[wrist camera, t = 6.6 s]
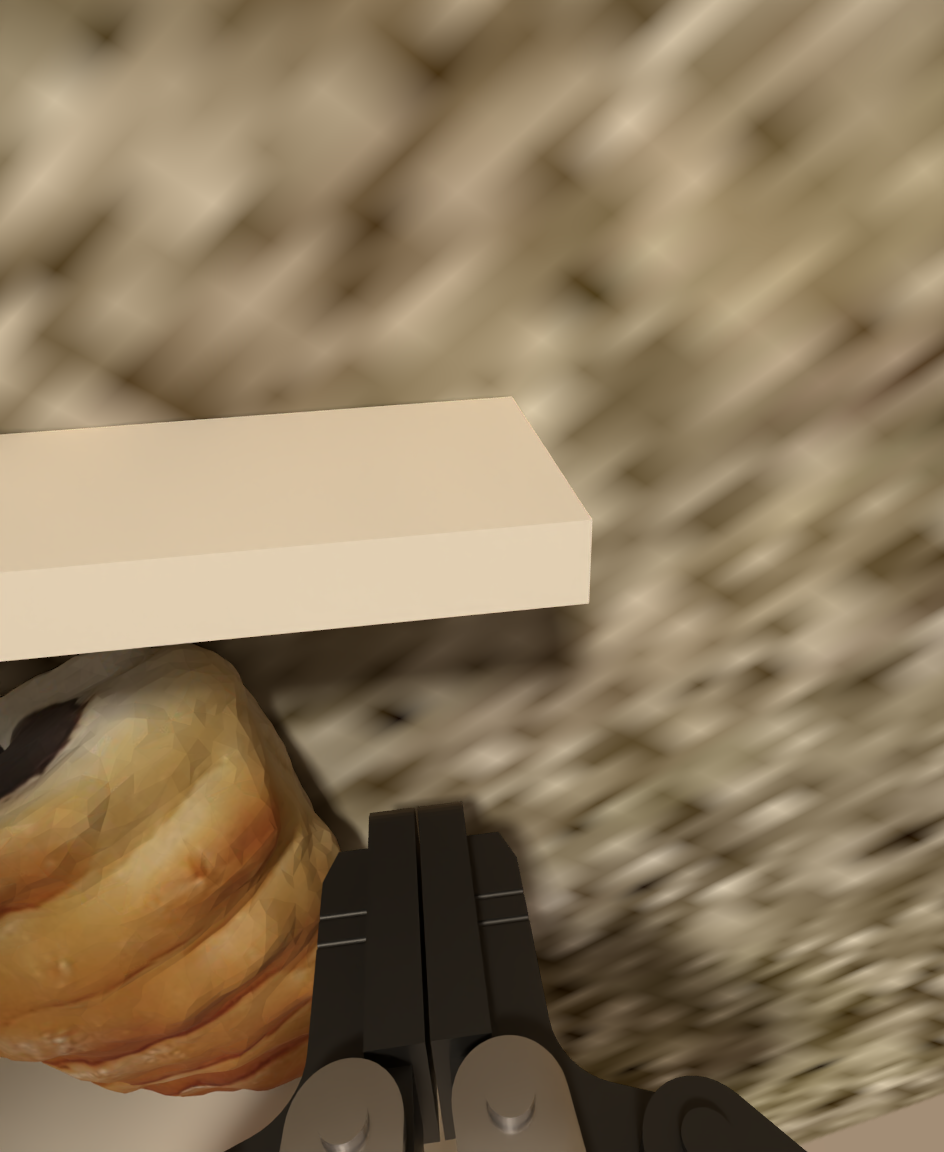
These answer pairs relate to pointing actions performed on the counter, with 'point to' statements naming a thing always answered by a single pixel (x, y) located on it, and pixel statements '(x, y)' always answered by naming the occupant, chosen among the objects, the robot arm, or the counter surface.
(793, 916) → the counter surface
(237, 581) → the bin
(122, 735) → the pastry
